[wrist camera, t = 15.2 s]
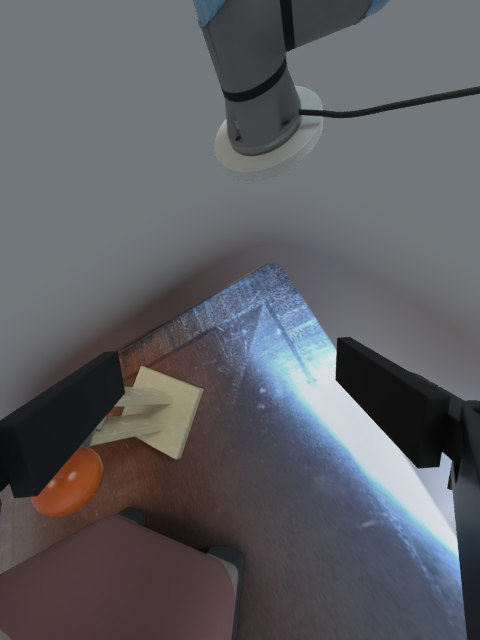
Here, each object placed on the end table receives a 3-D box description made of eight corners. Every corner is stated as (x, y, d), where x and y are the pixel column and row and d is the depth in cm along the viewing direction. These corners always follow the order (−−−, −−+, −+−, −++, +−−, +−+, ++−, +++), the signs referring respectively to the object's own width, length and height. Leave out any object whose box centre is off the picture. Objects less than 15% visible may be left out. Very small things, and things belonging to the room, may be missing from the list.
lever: (110, 466, 14) (39, 459, 12) (84, 534, 13) (5, 534, 12) (118, 397, 28) (85, 390, 27) (106, 428, 28) (72, 422, 26)
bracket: (203, 389, 36) (139, 385, 23) (180, 457, 34) (97, 494, 21) (145, 366, 40) (66, 354, 28) (122, 425, 38) (26, 440, 26)
